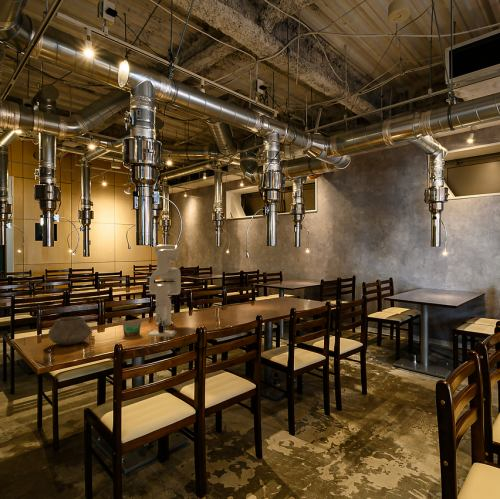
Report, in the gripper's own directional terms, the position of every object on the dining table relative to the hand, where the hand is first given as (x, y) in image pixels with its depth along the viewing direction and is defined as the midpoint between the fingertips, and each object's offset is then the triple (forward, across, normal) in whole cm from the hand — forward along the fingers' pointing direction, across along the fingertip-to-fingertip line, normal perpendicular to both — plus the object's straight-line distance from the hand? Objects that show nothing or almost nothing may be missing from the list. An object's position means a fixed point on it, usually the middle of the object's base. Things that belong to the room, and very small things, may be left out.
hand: (161, 331), depth 215 cm
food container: (+3, +5, -18) cm, 19 cm away
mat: (+3, 0, 0) cm, 3 cm away
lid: (+2, 0, 0) cm, 2 cm away
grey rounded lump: (+3, +22, -48) cm, 53 cm away
